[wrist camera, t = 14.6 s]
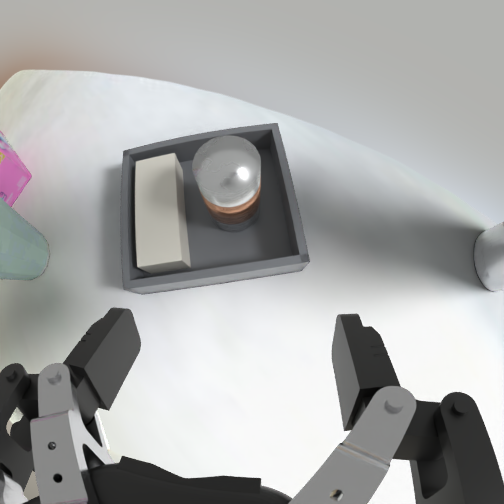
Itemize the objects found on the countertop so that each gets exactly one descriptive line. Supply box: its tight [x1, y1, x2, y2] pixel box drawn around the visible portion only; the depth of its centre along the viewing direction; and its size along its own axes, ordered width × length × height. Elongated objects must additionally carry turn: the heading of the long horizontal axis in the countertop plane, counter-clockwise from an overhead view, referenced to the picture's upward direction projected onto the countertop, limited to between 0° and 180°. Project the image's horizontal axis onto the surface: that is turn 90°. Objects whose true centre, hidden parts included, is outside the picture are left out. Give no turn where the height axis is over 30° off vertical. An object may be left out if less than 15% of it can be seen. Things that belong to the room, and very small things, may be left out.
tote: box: [121, 123, 310, 294], centre depth 30 cm, size 18×16×5 cm
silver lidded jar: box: [192, 136, 261, 232], centre depth 27 cm, size 6×6×10 cm
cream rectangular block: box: [135, 153, 191, 274], centre depth 30 cm, size 5×12×4 cm, turn 9°
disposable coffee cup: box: [0, 197, 50, 280], centre depth 25 cm, size 11×11×15 cm
